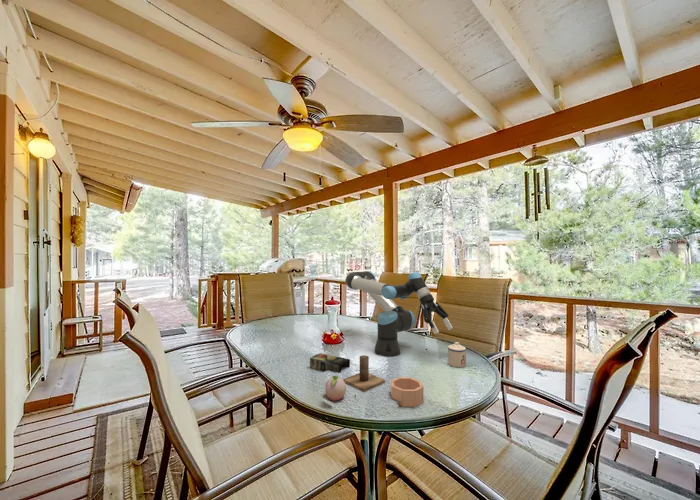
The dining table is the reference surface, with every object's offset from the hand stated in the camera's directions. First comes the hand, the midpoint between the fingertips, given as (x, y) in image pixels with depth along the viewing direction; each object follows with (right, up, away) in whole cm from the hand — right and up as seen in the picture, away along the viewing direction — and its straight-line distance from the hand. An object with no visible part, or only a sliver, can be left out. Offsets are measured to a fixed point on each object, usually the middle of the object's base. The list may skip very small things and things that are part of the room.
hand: (443, 331), depth 164 cm
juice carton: (-62, -17, -11) cm, 65 cm away
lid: (-45, -14, -31) cm, 56 cm away
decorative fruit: (-57, -16, -45) cm, 74 cm away
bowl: (-28, -16, -43) cm, 54 cm away
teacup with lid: (+6, -16, -5) cm, 18 cm away
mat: (-45, -16, -31) cm, 57 cm away
